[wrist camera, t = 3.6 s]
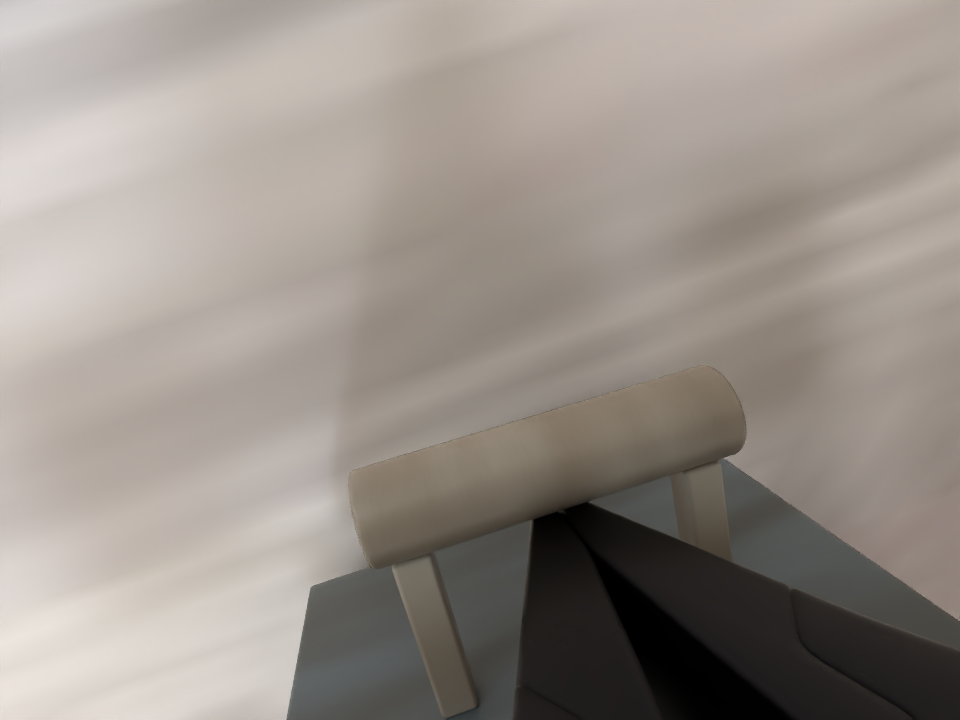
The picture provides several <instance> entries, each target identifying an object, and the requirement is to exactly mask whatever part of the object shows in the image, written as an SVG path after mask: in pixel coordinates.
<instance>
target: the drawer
mask: <svg viewBox="0 0 960 720" xmlns="http://www.w3.org/2000/svg"><path fill="white" fill-rule="evenodd" d="M745 440H746V421H745V416H744V412H743V409H742V406H741V404H740V401H739V399H738V397H737V395H736V393H735V391H734V389H733V388H732V386H731V385H730V383H729V382H728V381H727V380H726V378H725V377H724V376H723V375H722V374H721V373H720V372H718V371H717V370H715V369H714V368H712V367H709V366H697V367H694V368H690V369H687V370H684V371H680V372H677V373H674V374H670V375H667V376H664V377H660V378H657V379H654V380H650V381H647V382H644V383H640V384H637V385H634V386H631V387H627V388H624V389H621V390H617V391H614V392H611V393H607V394H604V395H601V396H597V397H594V398H591V399H587V400H584V401H581V402H577V403H574V404H571V405H567V406H564V407H561V408H558V409H554V410H551V411H548V412H544V413H541V414H538V415H534V416H531V417H528V418H524V419H521V420H518V421H514V422H511V423H508V424H504V425H501V426H498V427H495V428H491V429H488V430H485V431H481V432H478V433H475V434H471V435H468V436H465V437H461V438H458V439H455V440H451V441H448V442H445V443H441V444H438V445H435V446H432V447H428V448H425V449H422V450H418V451H415V452H412V453H408V454H405V455H402V456H398V457H395V458H392V459H388V460H385V461H382V462H378V463H375V464H372V465H369V466H365V467H362V468H359V469H355V470H353V471H352V472H351V473H350V475H349V484H348V486H349V499H350V505H351V511H352V516H353V520H354V524H355V528H356V532H357V535H358V539H359V542H360V545H361V547H362V550H363V553H364V555H365V557H366V559H367V561H368V563H369V564H370V566H371V567H369V568H366V569H363V570H360V571H357V572H354V573H351V574H348V575H345V576H342V577H339V578H335V579H332V580H329V581H326V582H323V583H320V584H317V585H314V586H312V587H311V588H310V594H309V599H308V604H307V610H306V615H305V621H304V626H303V632H302V637H301V643H300V648H299V654H298V659H297V665H296V670H295V676H294V681H293V687H292V692H291V698H290V703H289V708H288V714H287V719H286V720H512V714H513V704H514V693H515V689H516V676H517V665H518V654H519V643H520V633H521V622H522V611H523V601H524V590H525V579H526V568H527V558H528V547H529V536H530V525H531V520H533V519H536V518H539V517H542V516H545V515H548V514H552V513H555V512H558V511H561V510H564V509H567V508H570V507H573V506H576V505H579V504H582V503H586V502H590V503H593V504H595V505H597V506H600V507H602V508H605V509H607V510H609V511H612V512H614V513H617V514H619V515H621V516H624V517H626V518H629V519H631V520H633V521H636V522H638V523H641V524H643V525H645V526H648V527H650V528H653V529H655V530H657V531H660V532H662V533H665V534H667V535H669V536H672V537H674V538H677V539H679V540H681V541H684V542H686V543H689V544H691V545H693V546H696V547H698V548H701V549H703V550H705V551H708V552H710V553H713V554H715V555H717V556H720V557H722V558H725V559H727V560H729V561H732V562H734V563H737V564H739V565H741V566H744V567H746V568H749V569H751V570H753V571H756V572H758V573H761V574H763V575H765V576H768V577H770V578H773V579H775V580H777V581H780V582H782V583H785V584H787V585H788V586H789V588H790V590H791V588H797V589H800V590H802V591H804V592H807V593H809V594H812V595H814V596H816V597H819V598H821V599H824V600H826V601H829V602H831V603H834V604H836V605H839V606H841V607H844V608H846V609H849V610H851V611H854V612H857V613H859V614H862V615H864V616H867V617H869V618H872V619H874V620H877V621H880V622H883V623H885V624H888V625H891V626H894V627H897V628H900V629H902V630H905V631H908V632H911V633H914V634H917V635H919V636H922V637H925V638H928V639H931V640H934V641H936V642H939V643H942V644H945V645H948V646H951V647H954V648H957V649H960V622H959V621H958V620H956V619H955V618H954V617H952V616H951V615H949V614H948V613H946V612H945V611H943V610H942V609H941V608H939V607H938V606H936V605H935V604H933V603H932V602H930V601H929V600H928V599H926V598H925V597H923V596H922V595H920V594H919V593H917V592H916V591H915V590H913V589H912V588H910V587H909V586H907V585H906V584H904V583H903V582H902V581H900V580H899V579H897V578H896V577H894V576H893V575H891V574H890V573H889V572H887V571H886V570H884V569H883V568H881V567H880V566H878V565H877V564H876V563H874V562H873V561H871V560H870V559H868V558H867V557H865V556H864V555H863V554H861V553H860V552H858V551H857V550H855V549H854V548H852V547H851V546H850V545H848V544H847V543H845V542H844V541H842V540H841V539H839V538H838V537H837V536H835V535H834V534H832V533H831V532H829V531H828V530H826V529H825V528H824V527H822V526H821V525H819V524H818V523H816V522H815V521H813V520H812V519H811V518H809V517H808V516H806V515H805V514H803V513H802V512H800V511H799V510H798V509H796V508H795V507H793V506H792V505H790V504H789V503H787V502H786V501H785V500H783V499H782V498H780V497H779V496H777V495H776V494H774V493H773V492H771V491H770V490H769V489H767V488H766V487H764V486H763V485H761V484H760V483H758V482H757V481H756V480H754V479H753V478H751V477H750V476H748V475H747V474H745V473H744V472H743V471H741V470H740V469H738V468H737V467H735V466H734V465H732V464H731V463H730V462H728V461H727V460H725V459H724V457H727V456H730V455H734V454H736V453H737V452H739V451H740V450H741V449H742V447H743V445H744V443H745Z"/></svg>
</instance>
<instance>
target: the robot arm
mask: <svg viewBox="0 0 960 720" xmlns="http://www.w3.org/2000/svg"><path fill="white" fill-rule="evenodd" d="M512 720H960V649H957V648H954V647H951V646H948V645H945V644H942V643H939V642H936V641H934V640H931V639H928V638H925V637H922V636H919V635H917V634H914V633H911V632H908V631H905V630H902V629H900V628H897V627H894V626H891V625H888V624H885V623H883V622H880V621H877V620H874V619H872V618H869V617H867V616H864V615H862V614H859V613H857V612H854V611H851V610H849V609H846V608H844V607H841V606H839V605H836V604H834V603H831V602H829V601H826V600H824V599H821V598H819V597H816V596H814V595H812V594H809V593H807V592H804V591H802V590H800V589H797V588H791V590H790V588H789V586H788V585H787V584H785V583H782V582H780V581H777V580H775V579H773V578H770V577H768V576H765V575H763V574H761V573H758V572H756V571H753V570H751V569H749V568H746V567H744V566H741V565H739V564H737V563H734V562H732V561H729V560H727V559H725V558H722V557H720V556H717V555H715V554H713V553H710V552H708V551H705V550H703V549H701V548H698V547H696V546H693V545H691V544H689V543H686V542H684V541H681V540H679V539H677V538H674V537H672V536H669V535H667V534H665V533H662V532H660V531H657V530H655V529H653V528H650V527H648V526H645V525H643V524H641V523H638V522H636V521H633V520H631V519H629V518H626V517H624V516H621V515H619V514H617V513H614V512H612V511H609V510H607V509H605V508H602V507H600V506H597V505H595V504H593V503H590V502H586V503H582V504H579V505H576V506H573V507H570V508H567V509H564V510H561V511H558V512H555V513H552V514H548V515H545V516H542V517H539V518H536V519H533V520H531V525H530V536H529V547H528V558H527V568H526V579H525V590H524V601H523V611H522V622H521V633H520V643H519V654H518V665H517V676H516V689H515V693H514V704H513V714H512Z"/></svg>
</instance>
